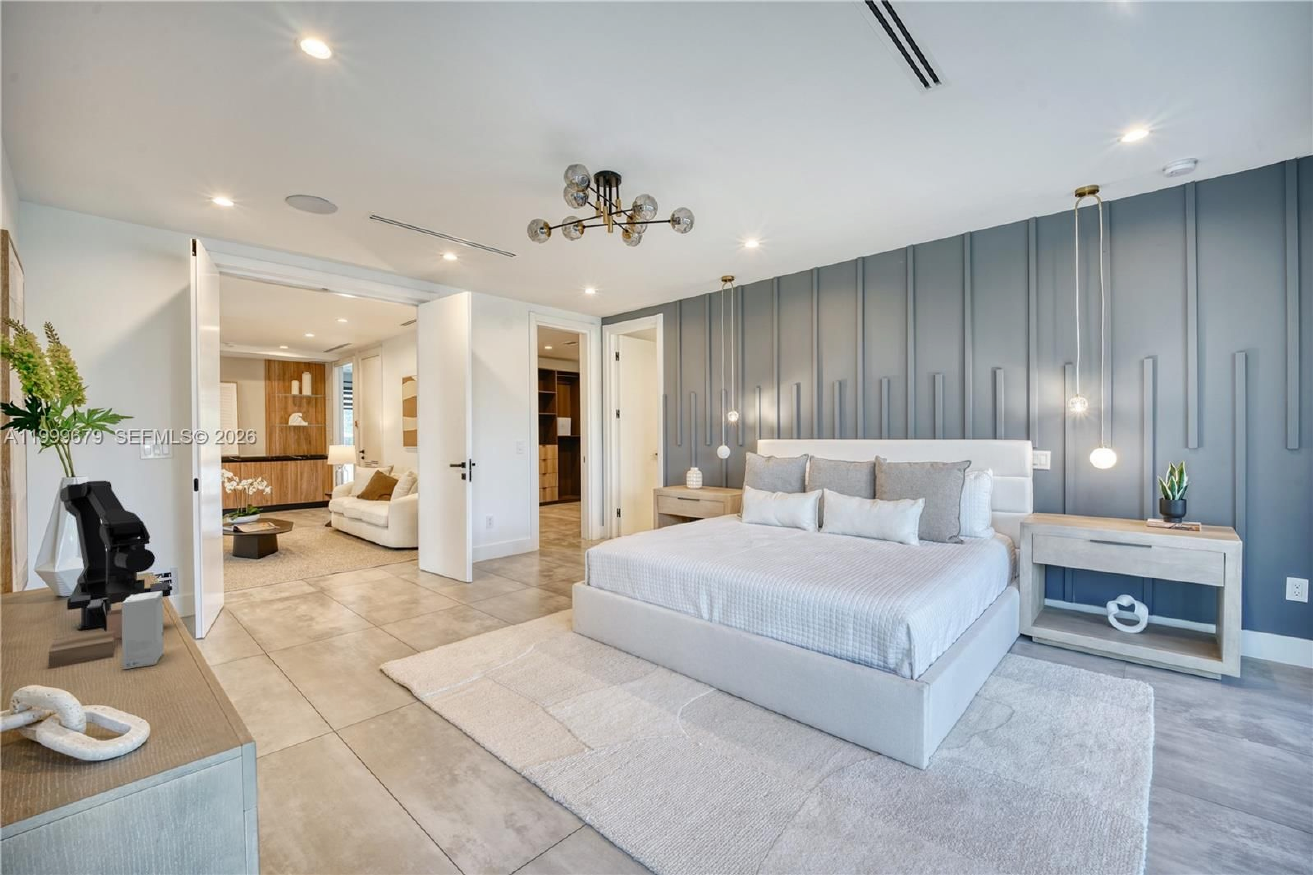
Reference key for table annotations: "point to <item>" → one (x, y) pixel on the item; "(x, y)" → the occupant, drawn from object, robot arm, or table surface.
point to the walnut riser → (81, 648)
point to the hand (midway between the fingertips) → (120, 629)
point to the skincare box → (142, 629)
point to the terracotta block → (115, 622)
